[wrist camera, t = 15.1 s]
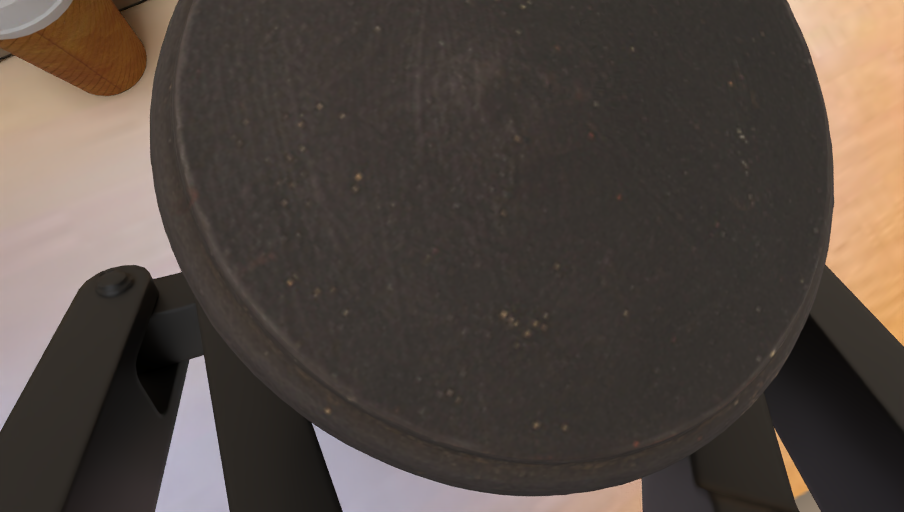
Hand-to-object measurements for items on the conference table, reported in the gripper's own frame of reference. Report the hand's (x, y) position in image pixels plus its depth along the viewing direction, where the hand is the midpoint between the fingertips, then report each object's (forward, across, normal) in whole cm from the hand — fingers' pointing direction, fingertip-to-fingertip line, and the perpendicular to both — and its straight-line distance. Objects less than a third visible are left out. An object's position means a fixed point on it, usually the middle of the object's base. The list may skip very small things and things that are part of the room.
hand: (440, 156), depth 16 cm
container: (+4, 0, -9) cm, 9 cm away
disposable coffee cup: (+28, -26, -4) cm, 38 cm away
